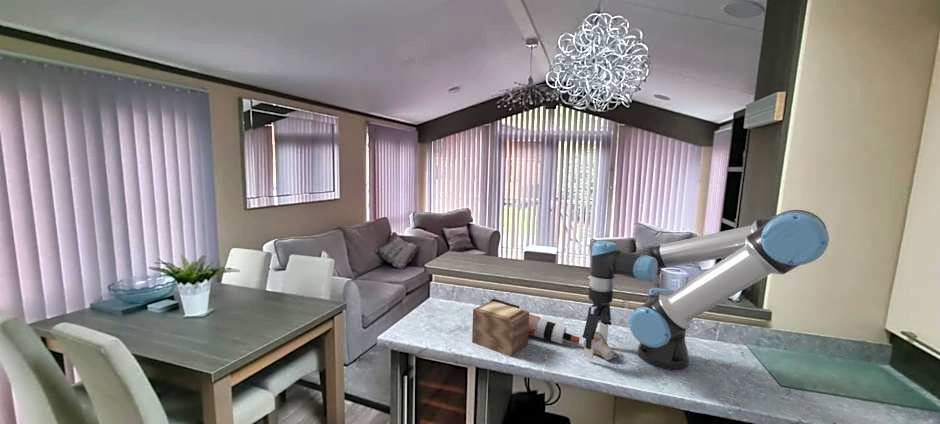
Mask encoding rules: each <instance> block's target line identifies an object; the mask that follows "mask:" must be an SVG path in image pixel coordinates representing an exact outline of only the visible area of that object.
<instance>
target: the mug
mask: <svg viewBox="0 0 940 424" xmlns="http://www.w3.org/2000/svg"><path fill="white" fill-rule="evenodd" d="M594 339H595V340H594V352H593V355H594V354H595V355H598V356H600V357H602V358H603V359H604V360H605V361H610V360H612V359H615V358H617V355H616V354H615V351H614V350H613V349H612V348H611V347H610V346H609V344H608V341H607V342H606V340H605V338H604V337H603V336H602V334H600V333H599V331H596V332H595V335H594ZM583 346H584V347H585V340H584V341H583Z"/></svg>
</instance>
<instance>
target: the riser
mask: <svg viewBox="0 0 940 424" xmlns="http://www.w3.org/2000/svg"><path fill="white" fill-rule="evenodd" d="M519 308H520V307H519ZM519 308H515V307H512V306H508V305H505V304H501V303H498V302H493V301H491V300H489V301H488V302H486V303H484V304H482V305H480V306H477V307H476V308H473V309H472V332H471V333H472V334H471V335H472V336H471V338H472V339H471V343H473V344H476V345H478V346H482V347H483V346H484V348H487V349H489V350H492V351H494V352H497V353H500V354H502V355H506V356H508V357H511V358H512V357H513V356H514V355H516V354H517V353H519V352H520V351H522V350H523V349H524V348H526V347H527V346H528V345H529V334H528V329H529V314H530V311H526V310H523V309H522V308H520V309H519Z"/></svg>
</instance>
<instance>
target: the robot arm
mask: <svg viewBox="0 0 940 424" xmlns="http://www.w3.org/2000/svg"><path fill="white" fill-rule="evenodd" d="M829 243H830V236H829V231H828V229H827V226H826V224H825V222H824V221H823V219H821V217H819V216H818V215H816V214H815V213H812V212H811V211H808V210H802V209H791V210H790V209H789V210H785V211H783V212H781V213H778V214H775V215H773V216H769V217H765V218H761V219H758V220H757V219H756V220H755V221H754V222H753V223H752V224H751V225H748V226H747V225H746V226H742V227H741V226H740V227H737V228H732V229H728V230H727V229H726V230H723V231H718V232H714V233H710V234H705V235H699V236H696V237H690V238H687V239H682V240H678V241H677V240H676V241H673V242H666V243H663V244H658V245H654V246H653V245H650V246H645V247H642V248H641V249H639V250H638V251H635V252H627V251H622V250H618V244H617V243H616V242H612V241H608V240H597V241H594V243H593V245H592V250H591V260H590V273H589V274H590V275H588V279H589V287H588V296H587V297H588V300H590V301H592V305H591V306H589V307H588V313H587V318H586V322H585V325H584V329H583V334H582V336H581V337H582V338H583V339H584V341H585V346H584V349H583V350H584V351H583V356H584V357H585V358H588V359H591V360H593V358H594V353H593V352H594V340H595V339H594V335H595V332H597V331H596V330H597V328H598V325H599V331H598V332H599V333H600V334H602V336H603V337H604V338H605V340H606V342H607V343H608V333H609V326H611V325H612V316H611V313H612V312H611V303H612V302H613V298H614V297H613V295H614V287H615V286H614V285H615V275H617V276H618V275H619V276H622V277H627V278H630V279H634V280H639V281H645V282H652V281H654V279H656V277H657V274H658V270H661V269H666V268H671V267H676V266H682V265H684V266H685V265H689V264H695V263H696V264H697V263H700V262H707V261H713V260H719V259H721V260H719V261H718V262H717V263H716V264H714V265H713V266H711V267H709V268H707V269H706V270H705V271H703V272H702V273H700V274H699V275H697V276H695V277H693V278H692V279H691V280H689V281H688V282H686V283H684V284H683V285H682V286H680V287H678V288H677V289H675V290H673V289H668V288H661V287H652V288H650V289H649V290H648V293H647V296H648V297H647V298H648V299H647V301H645V302H644V303H643V304H641V305H640V306H639V307H637V308H635V309H634V310H633V311H632V313H631V314H630V316H629V321H628V326H629V329H630V332H631V335H633V337H634V338H635V339H636V340H637V342H639V344H638V348H637V355H638V356H639V358H640V359H641V360H643V361H644V362H646V363H648V364H649V365H652V366H655V367H657V368H660V369H665V370H674V371H675V370H677V371H678V370H684V369H686V368H687V367H689V365H690V364H689V363H690V355H689V351H688V347H687V344H686V331H687V330H688V329H690V328H691V322H692V320H694V319H695V318H698V317H699V316H700V315H702V314H704V313H706V312H707V311H709V310H711V309H712V308H714V307H716V306H718V305H719V304H721V303H723V302H725V301H726V300H728V299H729V298H731V297H733V296H735V295H736V294H739V293H740V292H741V291H743V290H745V289H748V287H751V286H752V285H754V284H755V283H757V282H759V281H761V280H763V279H764V278H766V277H768V276H769V275H772V274H774V275H775V274H776V275H785V274H787V273H788V272H790V271H792V270H793V269H796V268H798V267H800V266H803V265H808V264H810V263H813V262H814V261H815V262H816V260H818V259H820V257H822V255H823V254H824V253H825V251H826V250H827V248H828V246H829ZM599 321H600V323H599Z"/></svg>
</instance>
